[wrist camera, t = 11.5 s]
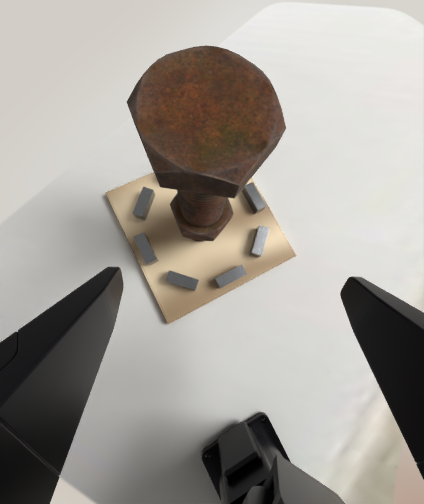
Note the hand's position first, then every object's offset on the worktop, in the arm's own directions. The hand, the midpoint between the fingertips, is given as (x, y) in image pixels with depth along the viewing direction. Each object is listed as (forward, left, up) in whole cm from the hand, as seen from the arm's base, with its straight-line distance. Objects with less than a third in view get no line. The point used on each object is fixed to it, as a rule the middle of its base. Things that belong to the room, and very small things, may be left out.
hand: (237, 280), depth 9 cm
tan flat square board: (+6, -2, -14) cm, 15 cm away
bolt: (+6, -2, -13) cm, 14 cm away
